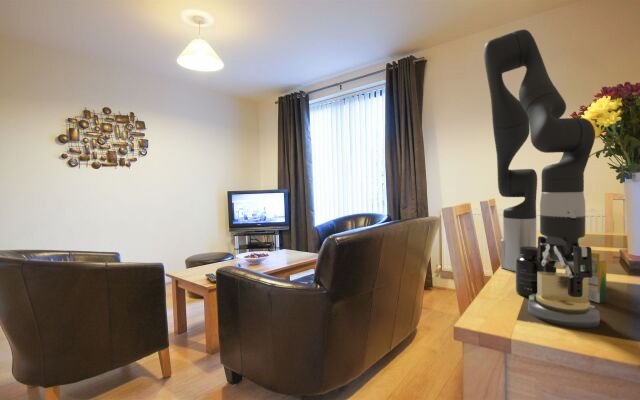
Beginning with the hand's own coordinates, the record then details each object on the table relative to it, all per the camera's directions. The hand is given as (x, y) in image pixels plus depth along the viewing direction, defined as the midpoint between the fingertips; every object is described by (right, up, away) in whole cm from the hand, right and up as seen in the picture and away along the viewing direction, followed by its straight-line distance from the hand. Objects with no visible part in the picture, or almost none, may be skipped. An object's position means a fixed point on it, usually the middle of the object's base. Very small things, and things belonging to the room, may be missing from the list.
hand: (561, 289), depth 66 cm
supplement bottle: (+3, -5, +13) cm, 15 cm away
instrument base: (0, -6, 0) cm, 6 cm away
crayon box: (+14, -5, +10) cm, 18 cm away
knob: (0, -3, 0) cm, 3 cm away
